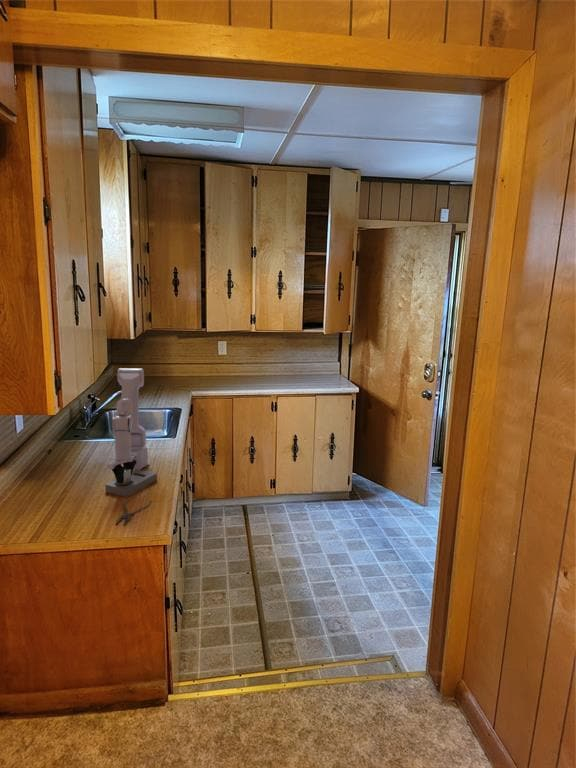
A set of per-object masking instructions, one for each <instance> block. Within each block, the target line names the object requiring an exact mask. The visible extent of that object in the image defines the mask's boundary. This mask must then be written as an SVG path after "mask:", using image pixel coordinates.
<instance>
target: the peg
mask: <svg viewBox="0 0 576 768" xmlns="http://www.w3.org/2000/svg"><path fill="white" fill-rule="evenodd" d="M114 477H115V476H114ZM114 480H115V481H116V485H119V486H123V487H126V486H128V485H130V484H131V469H129V468H125V470H124V474H123V483H122V484H121V483H117V480H116V477H115V479H114Z"/></svg>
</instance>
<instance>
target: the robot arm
mask: <svg viewBox="0 0 576 768" xmlns="http://www.w3.org/2000/svg"><path fill="white" fill-rule="evenodd" d="M116 375H117V377H116V378H117V382H118V384H119V386H121V398H120V400H118V401H117V404H116V411H115V416H114V417H112V423H111V424H112V432H113V437H114V451H115V452H114V453H115V455H114V458H113V460H111V461H110V462H108V463H107V469H108V470H111V471H112V472H113V475H114V477H116V480H117V483H121V484H122V483H123V474H124V470H125V468H129V469H131V476H132V472H133V471H134V470H136V469H139V470H142V469H143V467H144V468H146V467H148V466H149V465H150V463H149V461H148V459H149V457H148V456H149V453H148V452H149V451H148V448H147V447H146V445H147V434H146V433H147V432H146V431H147V430H146V429H145V428H144V427H143V426H142V425H141V424H139V423H140V422H139V420H140V419H139V418H140V417H139V416H140V415H139V413H140V412H139V411H140V410H139V406H140V405H139V403H140V402H139V396H140V395H139V390H140V388H142V387H144V385H145V371H144V368H142V367H141V368H132V367H131V368H127V367H124V368H122V367H120V368H118V369H117V374H116ZM147 465H148V466H147ZM145 466H146V467H145Z"/></svg>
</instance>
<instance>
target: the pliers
mask: <svg viewBox="0 0 576 768" xmlns="http://www.w3.org/2000/svg"><path fill="white" fill-rule="evenodd" d="M130 500H131V499H130V498H128V499H127V500H125V501H124V503H123V505H122V508H123V513H122V514H121V515H120V516H119V517H118V519H117V520H116V521H115V526H117V525H119V524H120V522H122V520H124V521H123V525H122V526H123V527H124V526H126V525H128V524H129V523H130V522H131V520H132V518H131V517H133V516H134V515H135V513H136V514H138V513H139V512H141V510H142V511H143V509H144V510H145V508H146V509H148V506H149V505H150V506H151V504H152V503H153V501H152V500H150V501H149V503H148V504H147V505H145V506H143V507H141V508H139V509H137V510H134V511H133V512H131V513H130V512H128V509H127V507H126V505H127V503H129V501H130ZM150 506H149V507H150ZM128 522H129V523H128Z"/></svg>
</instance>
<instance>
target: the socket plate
mask: <svg viewBox="0 0 576 768" xmlns="http://www.w3.org/2000/svg"><path fill="white" fill-rule="evenodd" d="M157 477H158V474H157V472H154V471H153V472H152V471H147V470H142V469H140V470H139V469H136V470H134V471H133V472H132V476H131V484H130V485H128V486H126V487H123V486H119V485H116V481H115V479H114V480H112V481H109V482H108V483H107V484H104V487H105V493H108V494H112V495H117V496H120V497H124V498H128V497H130V496H132V495H134V494H135V493H137V492H139V491H140V489H141V490H142V489H144V488H146V487H147V485H148V484H149V485H151V484H153V483H155V482H156V481H158V478H157ZM155 480H156V481H155ZM154 481H155V482H154ZM152 482H153V483H152ZM150 483H151V484H150ZM149 485H148V486H149ZM145 486H146V487H145ZM143 487H144V488H143ZM138 490H139V491H138ZM133 493H134V494H133Z"/></svg>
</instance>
